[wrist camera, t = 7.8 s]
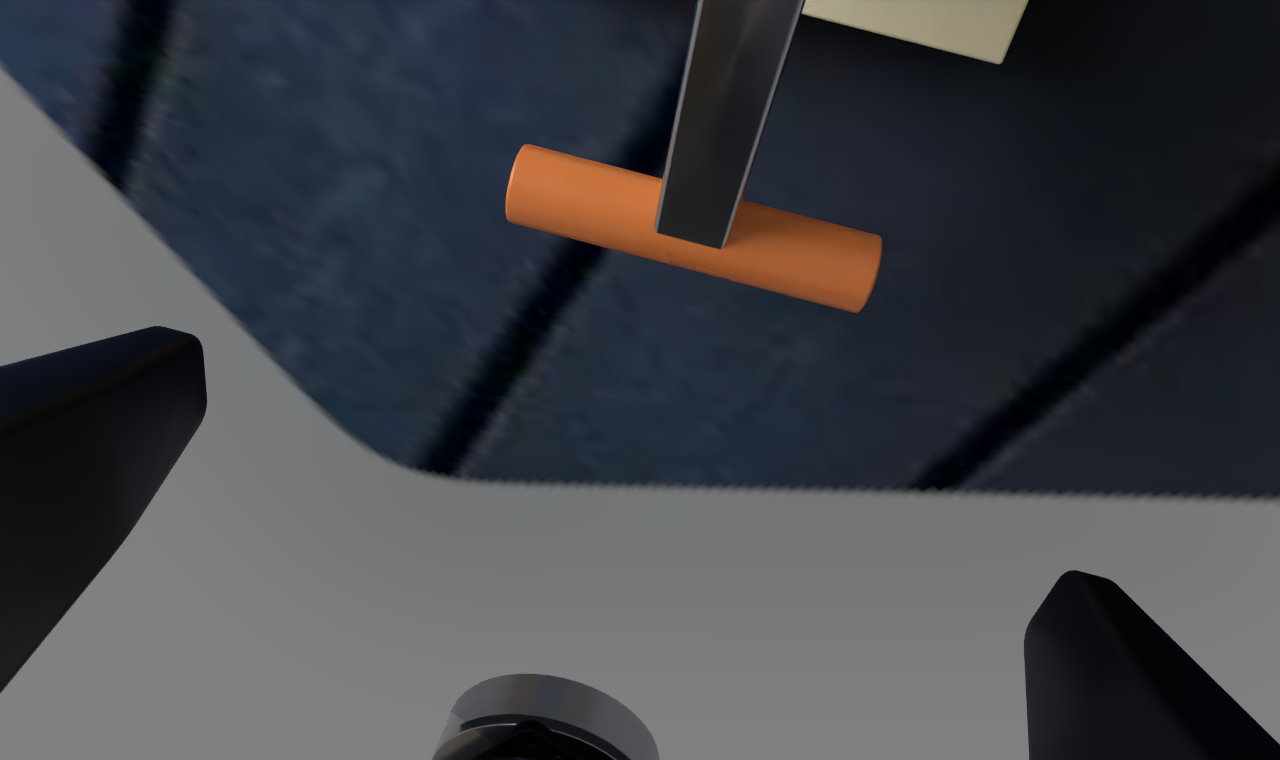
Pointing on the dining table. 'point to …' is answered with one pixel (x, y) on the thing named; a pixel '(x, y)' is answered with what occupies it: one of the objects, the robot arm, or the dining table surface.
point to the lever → (706, 176)
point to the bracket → (932, 22)
